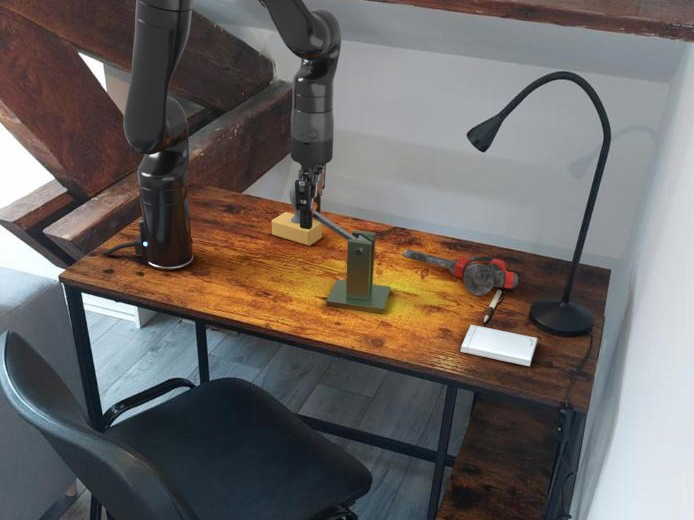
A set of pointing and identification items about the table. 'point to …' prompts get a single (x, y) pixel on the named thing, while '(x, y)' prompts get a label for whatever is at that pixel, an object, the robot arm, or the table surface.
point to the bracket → (360, 279)
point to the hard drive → (499, 345)
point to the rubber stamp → (295, 226)
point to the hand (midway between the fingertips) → (310, 221)
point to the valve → (472, 271)
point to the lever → (334, 225)
